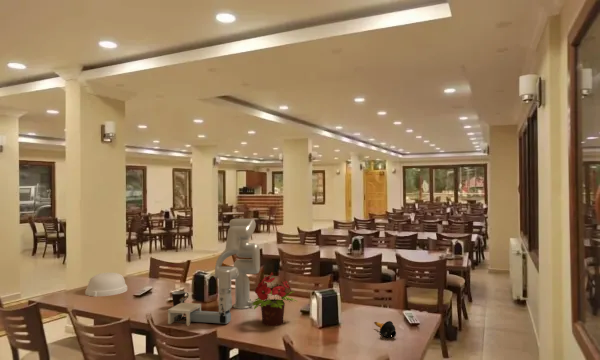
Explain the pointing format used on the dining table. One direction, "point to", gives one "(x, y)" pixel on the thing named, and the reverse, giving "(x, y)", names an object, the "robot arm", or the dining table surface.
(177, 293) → the coffee mug
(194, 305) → the low shelf
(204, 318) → the grey rectangular block
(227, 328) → the dining table surface
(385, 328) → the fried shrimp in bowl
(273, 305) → the potted plant
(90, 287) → the dome cover
